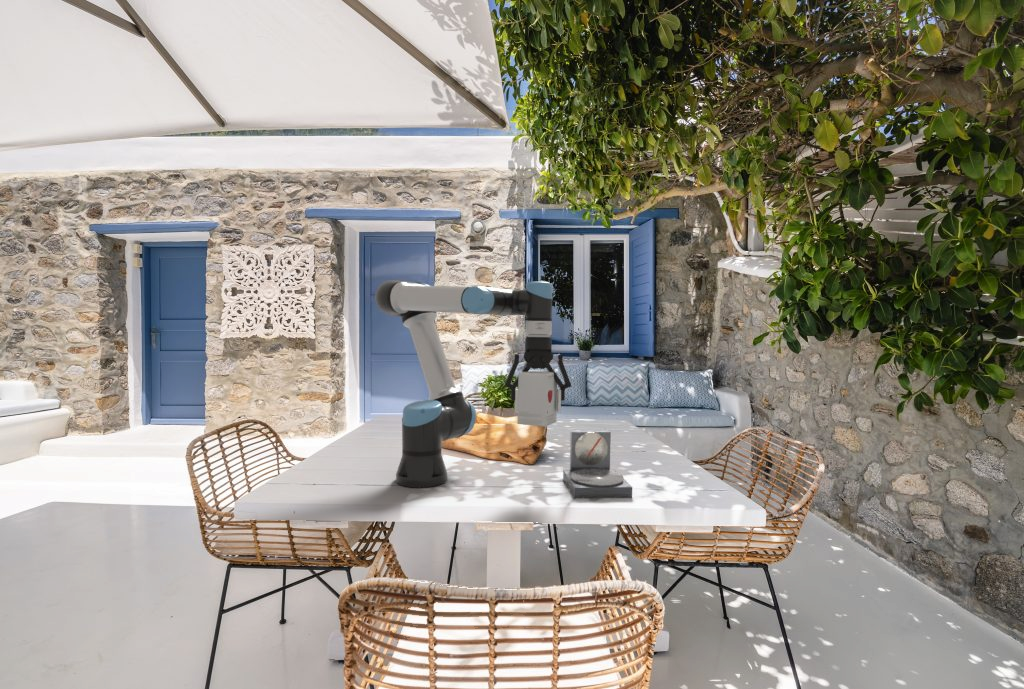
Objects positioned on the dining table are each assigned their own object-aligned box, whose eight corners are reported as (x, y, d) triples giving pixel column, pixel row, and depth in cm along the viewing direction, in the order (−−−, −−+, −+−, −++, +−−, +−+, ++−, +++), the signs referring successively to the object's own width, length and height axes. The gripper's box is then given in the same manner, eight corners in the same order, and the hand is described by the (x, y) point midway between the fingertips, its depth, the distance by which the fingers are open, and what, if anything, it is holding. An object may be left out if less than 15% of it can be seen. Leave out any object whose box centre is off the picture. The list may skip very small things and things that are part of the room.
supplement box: (546, 427, 145) (547, 373, 144) (516, 424, 149) (517, 371, 148) (557, 422, 153) (558, 370, 153) (529, 419, 157) (529, 369, 156)
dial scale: (574, 498, 143) (575, 444, 143) (563, 479, 161) (564, 430, 161) (632, 497, 145) (633, 443, 144) (614, 478, 163) (615, 430, 162)
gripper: (497, 335, 146) (496, 414, 146) (582, 336, 147) (581, 414, 148) (496, 335, 153) (495, 409, 154) (577, 336, 155) (576, 409, 155)
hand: (537, 412), depth 151 cm, fingers closed on supplement box, 12 cm apart
